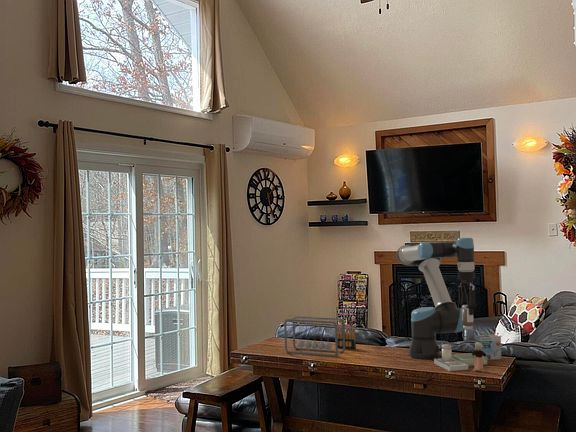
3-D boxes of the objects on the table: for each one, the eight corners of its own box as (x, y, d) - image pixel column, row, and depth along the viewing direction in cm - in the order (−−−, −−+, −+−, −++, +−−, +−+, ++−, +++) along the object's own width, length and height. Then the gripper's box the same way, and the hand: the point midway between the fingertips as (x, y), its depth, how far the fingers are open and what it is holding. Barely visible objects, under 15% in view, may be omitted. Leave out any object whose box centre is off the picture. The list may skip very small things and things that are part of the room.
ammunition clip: (336, 348, 338) (335, 325, 338) (337, 347, 340) (336, 325, 340) (354, 349, 333) (354, 326, 333) (356, 348, 335) (355, 325, 335)
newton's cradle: (284, 353, 329) (283, 318, 330) (294, 349, 339) (293, 315, 339) (337, 357, 315) (336, 321, 315) (345, 353, 324) (344, 318, 325)
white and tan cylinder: (470, 327, 297) (469, 304, 297) (474, 329, 293) (473, 305, 293) (461, 328, 296) (460, 305, 296) (465, 330, 292) (465, 306, 292)
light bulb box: (481, 360, 298) (481, 337, 298) (474, 357, 305) (473, 335, 305) (502, 358, 301) (501, 336, 301) (494, 356, 307) (493, 333, 307)
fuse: (440, 363, 294) (439, 344, 294) (449, 363, 295) (448, 343, 295) (444, 366, 290) (444, 346, 290) (453, 365, 290) (453, 345, 290)
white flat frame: (434, 363, 295) (434, 357, 295) (452, 362, 297) (452, 356, 297) (449, 371, 279) (449, 365, 279) (468, 369, 281) (468, 363, 281)
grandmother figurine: (469, 371, 278) (468, 342, 278) (471, 369, 281) (470, 340, 282) (487, 372, 274) (486, 343, 274) (489, 370, 278) (488, 342, 278)
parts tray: (451, 361, 299) (451, 354, 299) (474, 359, 301) (474, 352, 301) (463, 366, 287) (462, 359, 287) (487, 364, 290) (487, 358, 290)
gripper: (450, 270, 303) (451, 318, 302) (467, 272, 285) (469, 324, 285) (464, 269, 304) (466, 318, 304) (482, 271, 287) (484, 323, 287)
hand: (467, 321), depth 294 cm, fingers closed on white and tan cylinder, 4 cm apart
